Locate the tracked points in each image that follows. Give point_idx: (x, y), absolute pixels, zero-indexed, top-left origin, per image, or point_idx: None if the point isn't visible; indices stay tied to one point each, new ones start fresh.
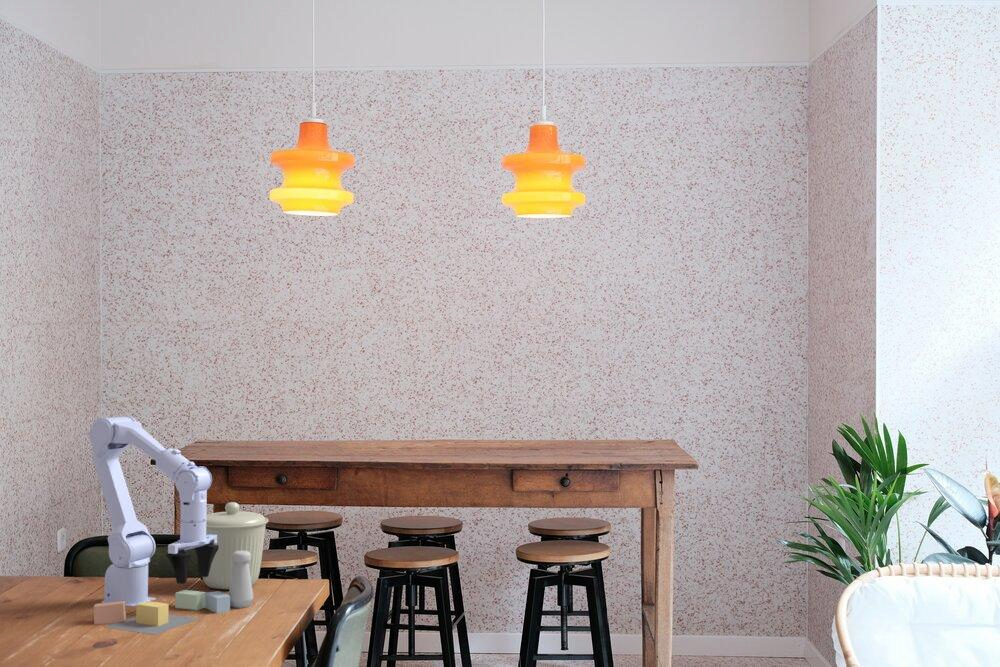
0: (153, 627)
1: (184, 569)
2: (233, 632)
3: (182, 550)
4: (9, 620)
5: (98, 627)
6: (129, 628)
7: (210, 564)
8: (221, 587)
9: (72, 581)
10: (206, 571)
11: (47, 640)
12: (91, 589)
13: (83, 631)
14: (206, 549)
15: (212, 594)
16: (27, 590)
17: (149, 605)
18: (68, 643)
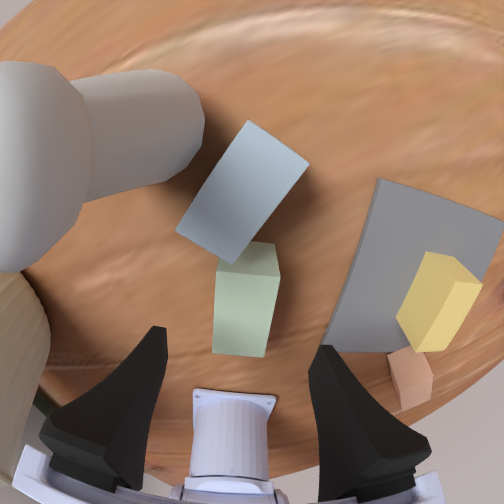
0: (463, 259)
1: (368, 395)
2: (454, 32)
3: (381, 495)
4: None
5: None
6: None
7: (131, 364)
8: (40, 303)
9: (161, 470)
10: (158, 348)
11: (475, 363)
12: (182, 457)
13: (444, 360)
14: (126, 459)
15: (246, 221)
16: None
17: (461, 317)
18: (496, 332)
